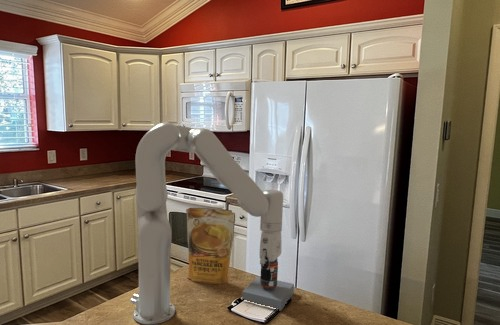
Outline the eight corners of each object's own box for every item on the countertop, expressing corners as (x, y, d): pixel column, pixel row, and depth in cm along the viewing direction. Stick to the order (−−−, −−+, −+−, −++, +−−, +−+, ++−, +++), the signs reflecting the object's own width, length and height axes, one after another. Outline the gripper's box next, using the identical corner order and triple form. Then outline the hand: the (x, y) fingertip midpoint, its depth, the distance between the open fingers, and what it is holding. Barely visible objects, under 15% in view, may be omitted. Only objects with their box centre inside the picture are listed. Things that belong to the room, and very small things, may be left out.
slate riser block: (242, 301, 116) (242, 291, 115) (258, 284, 128) (258, 276, 128) (280, 311, 110) (281, 300, 109) (293, 293, 122) (294, 283, 122)
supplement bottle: (275, 290, 115) (277, 258, 114) (258, 288, 116) (260, 256, 115) (278, 282, 121) (279, 252, 120) (261, 280, 122) (262, 250, 121)
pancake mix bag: (188, 273, 136) (189, 205, 134) (234, 278, 133) (236, 209, 131) (182, 280, 130) (182, 209, 127) (230, 286, 127) (232, 213, 124)
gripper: (272, 233, 107) (270, 288, 109) (289, 221, 123) (286, 269, 125) (250, 230, 110) (249, 283, 112) (269, 218, 126) (267, 265, 128)
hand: (268, 275), depth 118 cm, fingers closed on supplement bottle, 5 cm apart
